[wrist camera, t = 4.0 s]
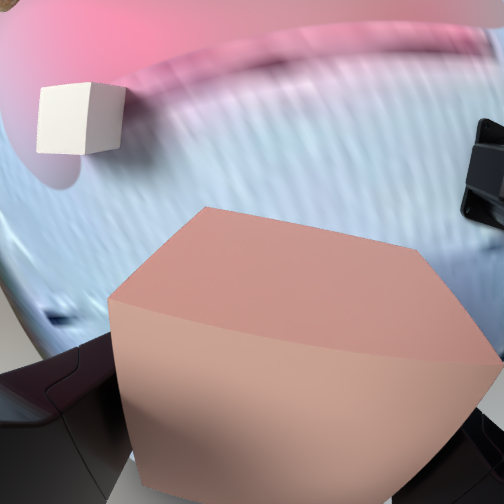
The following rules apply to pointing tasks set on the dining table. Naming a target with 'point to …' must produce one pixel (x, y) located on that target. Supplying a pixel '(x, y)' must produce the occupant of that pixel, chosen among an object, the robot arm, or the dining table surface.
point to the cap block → (80, 118)
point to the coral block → (290, 363)
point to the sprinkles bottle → (7, 4)
